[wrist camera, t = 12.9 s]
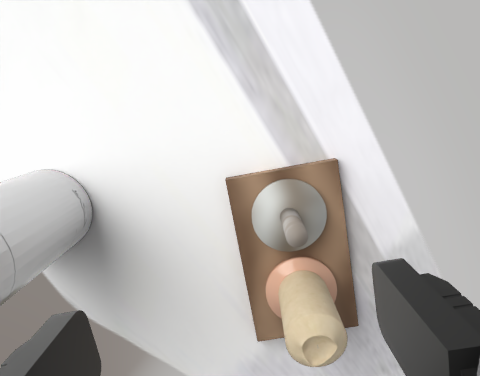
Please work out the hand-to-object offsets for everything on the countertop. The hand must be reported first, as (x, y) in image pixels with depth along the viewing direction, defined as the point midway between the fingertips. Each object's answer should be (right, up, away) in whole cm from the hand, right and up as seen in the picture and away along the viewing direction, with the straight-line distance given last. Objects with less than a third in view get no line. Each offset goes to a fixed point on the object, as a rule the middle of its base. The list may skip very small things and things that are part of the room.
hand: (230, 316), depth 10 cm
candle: (+7, -8, +31) cm, 33 cm away
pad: (+7, -8, +31) cm, 33 cm away
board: (+6, -4, +32) cm, 33 cm away
